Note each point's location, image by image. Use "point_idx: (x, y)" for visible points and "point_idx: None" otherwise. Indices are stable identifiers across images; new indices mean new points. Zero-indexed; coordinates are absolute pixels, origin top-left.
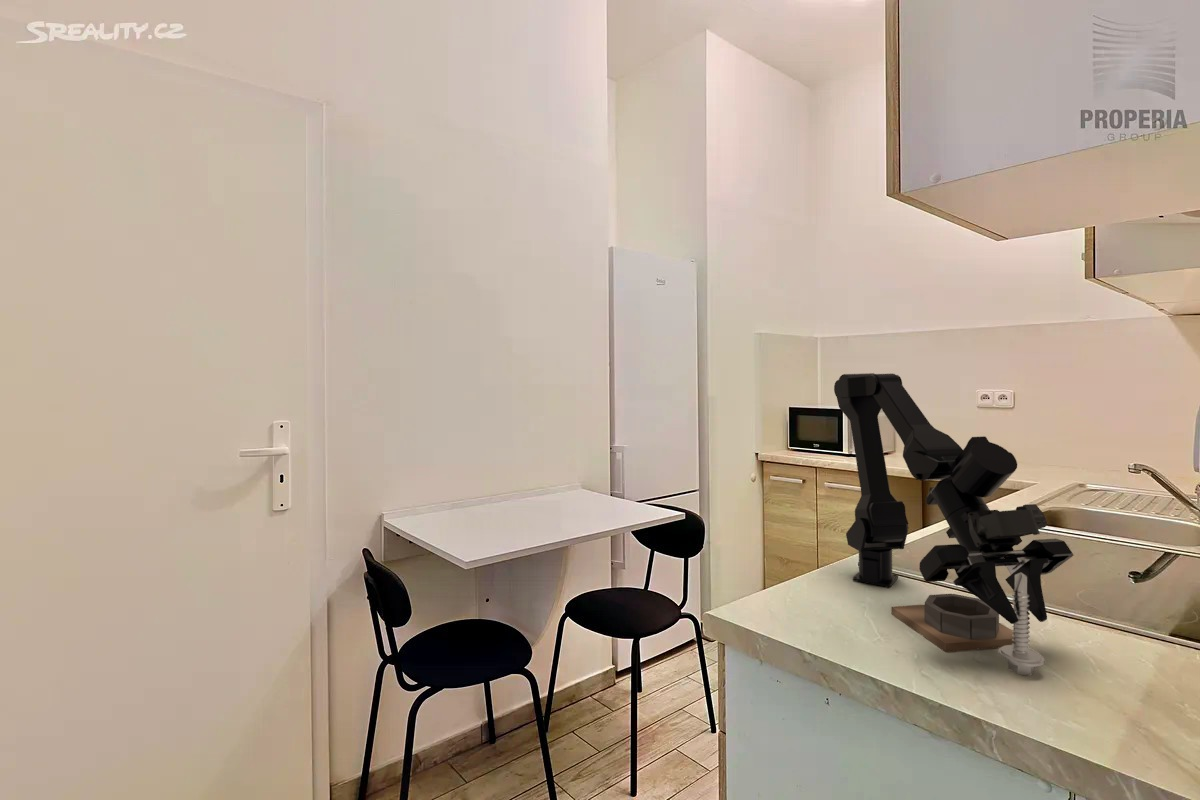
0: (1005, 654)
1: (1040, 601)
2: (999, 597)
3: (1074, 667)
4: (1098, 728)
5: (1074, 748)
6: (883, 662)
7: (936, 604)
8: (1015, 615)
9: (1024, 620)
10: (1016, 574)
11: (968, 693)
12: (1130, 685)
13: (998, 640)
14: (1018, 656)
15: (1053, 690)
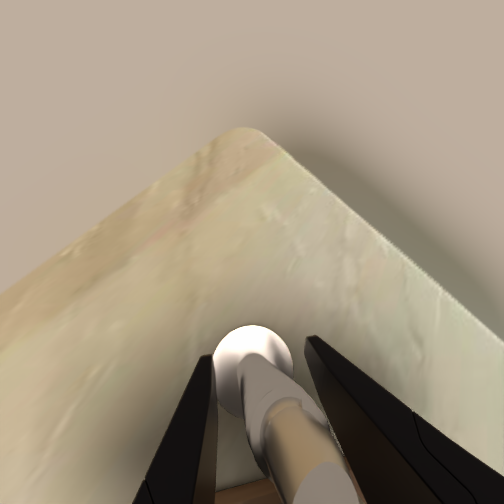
0: (288, 362)
1: (193, 411)
2: (396, 400)
3: (133, 383)
4: (244, 204)
5: (297, 175)
6: (480, 391)
7: None
8: (317, 345)
9: (268, 366)
10: None
11: (367, 284)
12: (91, 310)
13: (234, 501)
14: (269, 349)
15: (237, 293)
